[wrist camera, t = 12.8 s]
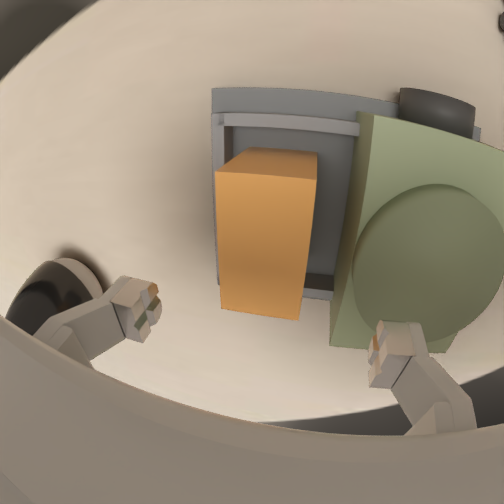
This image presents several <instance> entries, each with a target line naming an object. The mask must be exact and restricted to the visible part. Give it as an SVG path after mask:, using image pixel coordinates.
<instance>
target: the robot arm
mask: <svg viewBox="0 0 504 504" xmlns="http://www.w3.org/2000/svg"><path fill="white" fill-rule="evenodd" d="M158 292H159V291H158V287H157V285H156V284H155V283H153V282H148V281H144V280H140V279H136V278H131V277H128V276H120V277H119V278H118V279H117V280H116V281H115V282H114V284H113V285H112V286H111V287H110V288H109V289H108V290H107V291H106V292H105V293H104V294H103V295H102V296H101V297H100V298H99V299H98V298H95V299H93V300H90V301H88V302H85V303H83V304H80V305H78V306H76V307H73V308H71V309H68V310H66V311H64V312H61V313H59V314H56V315H54V316H52V317H49V319H48V320H47V321H46V322H45V323H44V324H43V325H42V326H41V327H40V328H39V329H38V330H37V332H36V333H35V334H34V335H33V336H31V335H30V334H28V333H27V332H25V331H24V330H22V329H20V328H19V327H17V326H16V325H14V324H13V323H11V322H10V321H8V320H7V319H6V318H4V317H3V316H1V315H0V504H504V424H499V425H495V426H489V427H484V428H479V429H477V425H476V420H475V415H474V410H473V405H472V400H471V398H470V397H469V396H468V395H467V394H466V393H465V392H464V391H463V390H462V388H461V387H460V386H459V385H458V384H457V383H456V382H455V381H454V379H453V378H452V377H451V376H450V375H449V374H448V373H447V372H446V371H445V370H444V369H443V368H442V367H441V366H440V364H439V363H438V362H437V361H436V360H435V359H434V358H433V357H429V353H428V349H427V345H426V341H425V338H424V334H423V330H422V327H421V324H420V323H415V322H400V321H389V320H380V321H379V322H378V325H377V327H376V330H377V334H376V335H374V336H373V337H372V339H371V342H370V345H369V350H368V362H369V364H370V365H371V368H370V370H369V387H373V388H385V389H391V391H392V393H393V394H394V396H395V398H396V399H397V401H398V402H399V404H400V406H401V407H402V409H403V411H404V412H405V414H406V416H407V417H408V419H409V421H410V422H411V424H412V425H413V427H412V428H411V429H410V430H409V431H408V432H407V433H406V434H405V435H404V436H364V435H363V436H362V435H344V434H332V433H321V432H312V431H304V430H297V429H289V428H283V427H277V426H271V425H266V424H261V423H255V422H251V421H246V420H241V419H237V418H233V417H228V416H224V415H220V414H216V413H213V412H209V411H205V410H202V409H198V408H195V407H191V406H188V405H185V404H181V403H178V402H175V401H172V400H169V399H166V398H163V397H160V396H157V395H155V394H152V393H149V392H146V391H144V390H141V389H139V388H136V387H134V386H131V385H129V384H126V383H124V382H121V381H119V380H117V379H114V378H112V377H110V376H107V375H105V374H103V373H101V372H99V371H96V370H94V368H93V366H92V364H91V362H90V360H92V359H94V358H95V357H97V356H98V355H100V354H102V353H103V352H105V351H106V350H108V349H110V348H111V347H113V346H115V345H116V344H118V343H119V342H121V341H123V340H124V339H125V338H127V339H131V340H134V341H137V342H141V343H143V342H144V341H145V340H146V338H147V337H148V335H149V334H150V332H151V328H150V326H152V325H154V324H156V323H157V322H158V320H159V319H160V315H161V312H162V305H161V301H160V299H159V298H158V297H157V296H156V295H157V293H158Z"/></svg>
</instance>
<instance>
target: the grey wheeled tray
mask: <svg viewBox="0 0 504 504" xmlns="http://www.w3.org/2000/svg"><path fill="white" fill-rule="evenodd" d="M475 109H476V108H475V107H474V106H472V105H470V104H468V103H466V102H463V101H461V100H458V99H455V98H452V97H449V96H446V95H442V94H438V93H435V92H430V91H425V90H420V89H414V88H400V102H399V104H397V103H392V102H388V101H383V100H377V99H372V98H366V97H360V96H354V95H347V94H340V93H332V92H323V91H312V90H300V89H284V88H212V113H211V127H212V174H213V203H214V226H215V246H216V264H217V280H218V285H220V281H219V263H218V243H217V221H216V194H215V171H217V170H218V169H219V168H221V167H222V166H223V165H225V164H226V163H227V162H229V161H230V160H232V159H233V158H234V157H236V156H237V155H239V154H240V153H241V152H243V151H244V150H246V149H247V148H249V147H265V148H279V149H291V150H302V151H312V152H317V183H316V193H315V202H314V212H313V220H312V229H311V237H310V245H309V253H308V260H307V267H306V274H305V281H304V288H303V295H302V297H305V298H312V299H320V300H328V301H330V342H329V346H335V347H345V348H356V349H368V350H369V345H370V342H371V339H372V337H373V336H374V335H376V334H377V330H376V327H377V325H378V322H379V321H380V320H389V321H400V322H415V323H420V324H421V327H422V330H423V334H424V338H425V341H426V345H427V349H428V353H446V351H447V349H448V348H449V346H450V345H451V343H452V341H453V340H454V338H455V336H456V335H457V333H458V331H460V330H461V329H463V328H464V327H466V326H467V325H469V324H470V323H471V322H472V321H474V320H475V319H476V318H477V317H478V316H479V315H480V314H481V313H482V312H483V311H484V310H485V308H486V307H487V306H488V305H489V303H490V302H491V301H492V299H493V298H494V296H495V294H496V292H497V290H498V289H499V286H500V284H501V281H502V279H503V275H504V151H501V150H499V149H497V148H494V147H492V146H489V145H487V144H484V143H482V142H479V140H480V133H481V128H479V127H476V126H474V120H475Z"/></svg>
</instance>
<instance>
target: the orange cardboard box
mask: <svg viewBox="0 0 504 504" xmlns="http://www.w3.org/2000/svg"><path fill="white" fill-rule="evenodd" d="M316 183H317V152H312V151H302V150H291V149H279V148H265V147H249V148H247V149H246V150H244V151H243V152H241V153H240V154H239V155H237V156H236V157H234V158H233V159H232V160H230V161H229V162H227V163H226V164H225V165H223V166H222V167H221V168H219V169H218V170H217V171H215V194H216V221H217V243H218V263H219V281H220V297H221V309H227V310H232V311H238V312H244V313H250V314H257V315H263V316H270V317H276V318H283V319H290V320H298V319H299V313H300V307H301V301H302V295H303V288H304V281H305V274H306V267H307V260H308V253H309V245H310V237H311V229H312V220H313V212H314V202H315V193H316Z"/></svg>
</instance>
